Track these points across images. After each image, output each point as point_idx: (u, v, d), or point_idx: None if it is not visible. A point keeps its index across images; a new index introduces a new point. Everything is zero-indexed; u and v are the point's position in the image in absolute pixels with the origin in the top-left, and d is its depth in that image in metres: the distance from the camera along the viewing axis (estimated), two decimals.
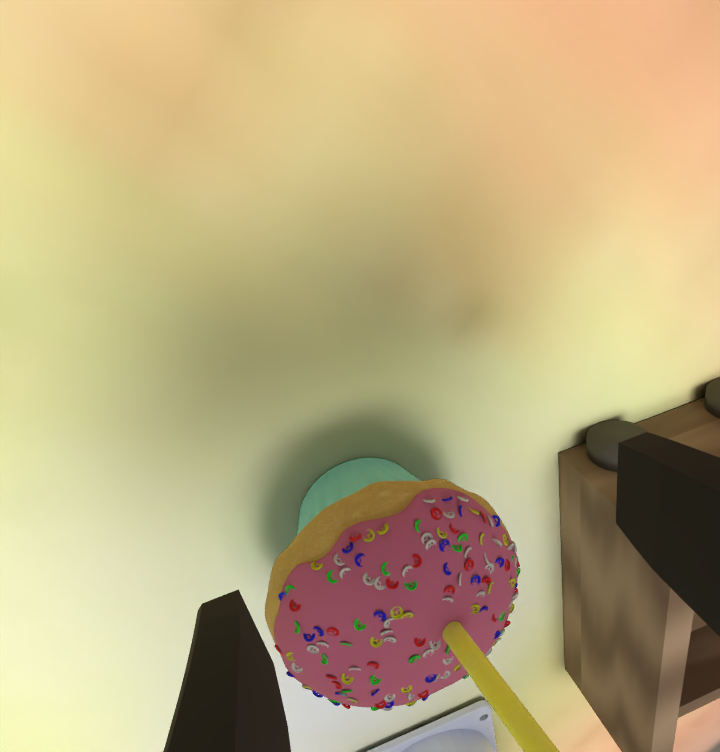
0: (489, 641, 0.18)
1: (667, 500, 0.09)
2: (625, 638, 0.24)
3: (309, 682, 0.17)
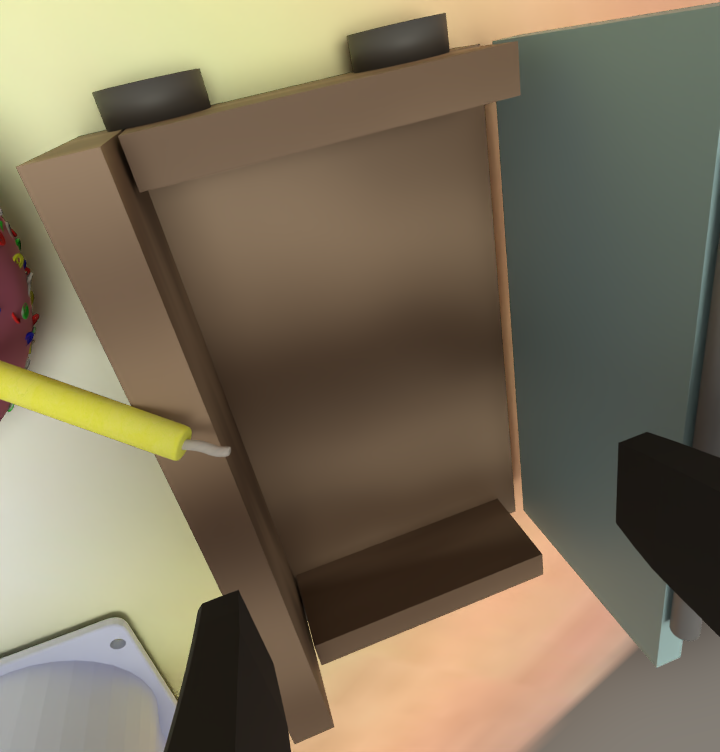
0: (22, 351, 0.12)
1: (667, 500, 0.09)
2: None
3: None
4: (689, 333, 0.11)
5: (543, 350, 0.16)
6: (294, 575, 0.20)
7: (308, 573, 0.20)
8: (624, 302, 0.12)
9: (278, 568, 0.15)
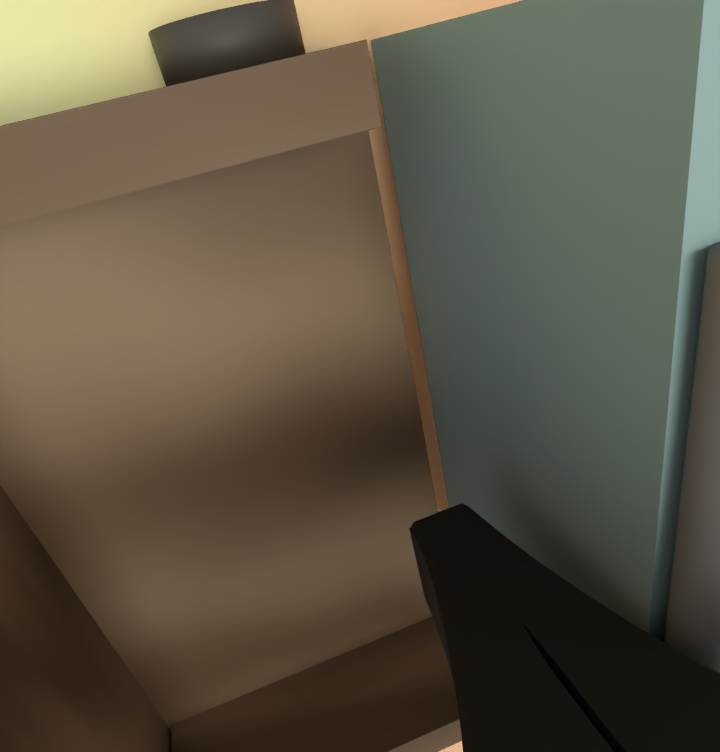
0: None
1: None
2: None
3: None
4: (646, 533, 0.06)
5: (468, 462, 0.12)
6: (169, 725, 0.16)
7: (187, 723, 0.16)
8: (553, 446, 0.08)
9: None
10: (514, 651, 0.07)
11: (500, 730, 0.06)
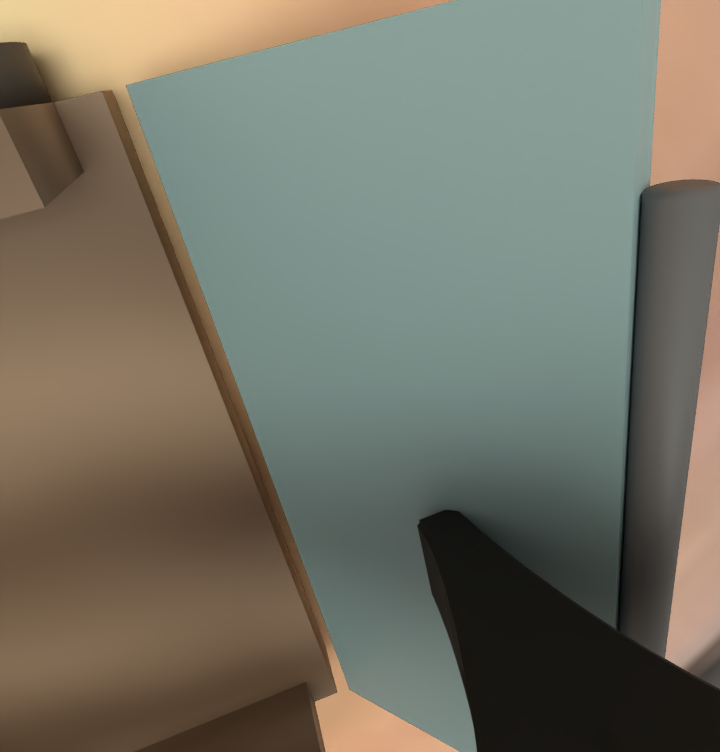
0: None
1: None
2: None
3: None
4: (608, 465, 0.07)
5: (339, 508, 0.11)
6: None
7: None
8: (476, 436, 0.08)
9: None
10: (525, 646, 0.07)
11: (513, 724, 0.06)
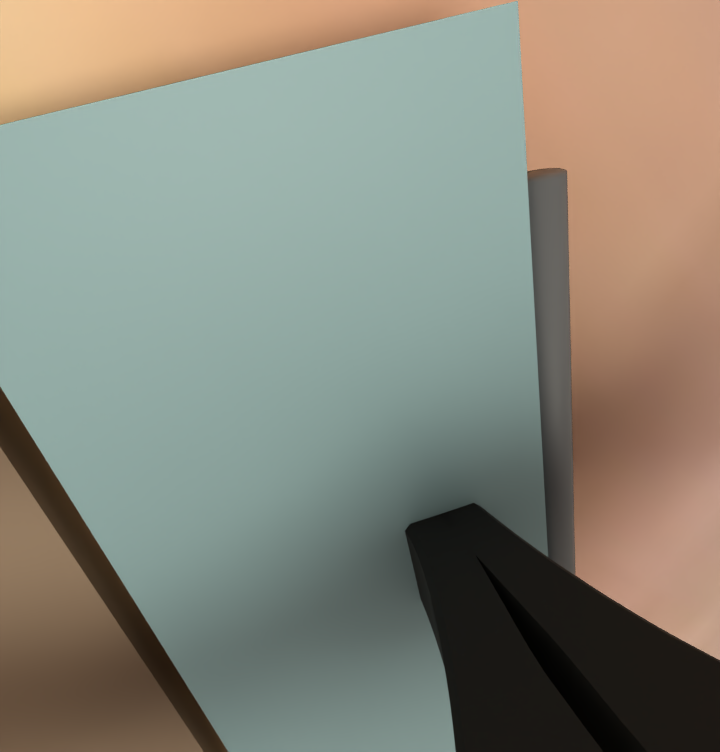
0: None
1: None
2: None
3: None
4: (531, 406, 0.09)
5: (265, 614, 0.10)
6: None
7: None
8: (420, 439, 0.09)
9: None
10: (508, 654, 0.07)
11: (493, 734, 0.06)
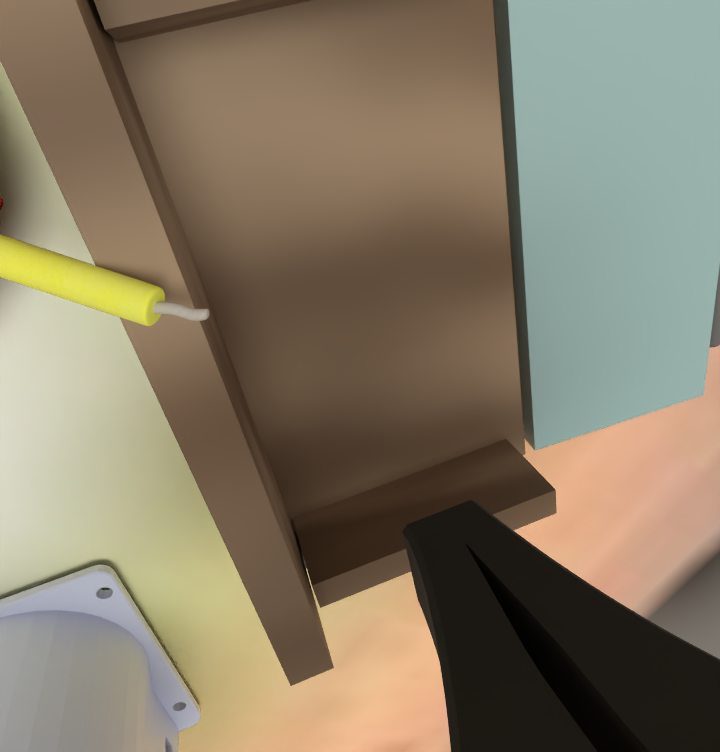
0: None
1: None
2: None
3: None
4: None
5: (577, 226, 0.17)
6: (291, 518, 0.19)
7: (305, 516, 0.19)
8: (680, 105, 0.16)
9: (271, 491, 0.14)
10: (504, 656, 0.07)
11: (488, 736, 0.06)
